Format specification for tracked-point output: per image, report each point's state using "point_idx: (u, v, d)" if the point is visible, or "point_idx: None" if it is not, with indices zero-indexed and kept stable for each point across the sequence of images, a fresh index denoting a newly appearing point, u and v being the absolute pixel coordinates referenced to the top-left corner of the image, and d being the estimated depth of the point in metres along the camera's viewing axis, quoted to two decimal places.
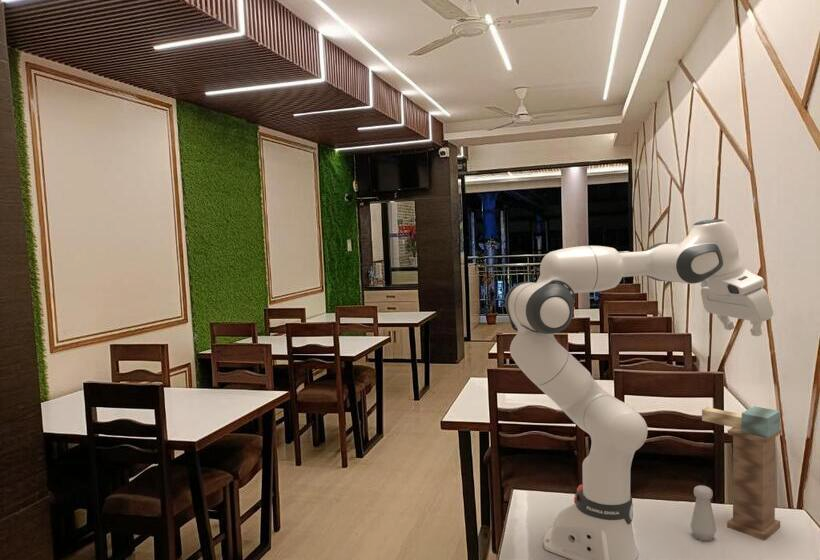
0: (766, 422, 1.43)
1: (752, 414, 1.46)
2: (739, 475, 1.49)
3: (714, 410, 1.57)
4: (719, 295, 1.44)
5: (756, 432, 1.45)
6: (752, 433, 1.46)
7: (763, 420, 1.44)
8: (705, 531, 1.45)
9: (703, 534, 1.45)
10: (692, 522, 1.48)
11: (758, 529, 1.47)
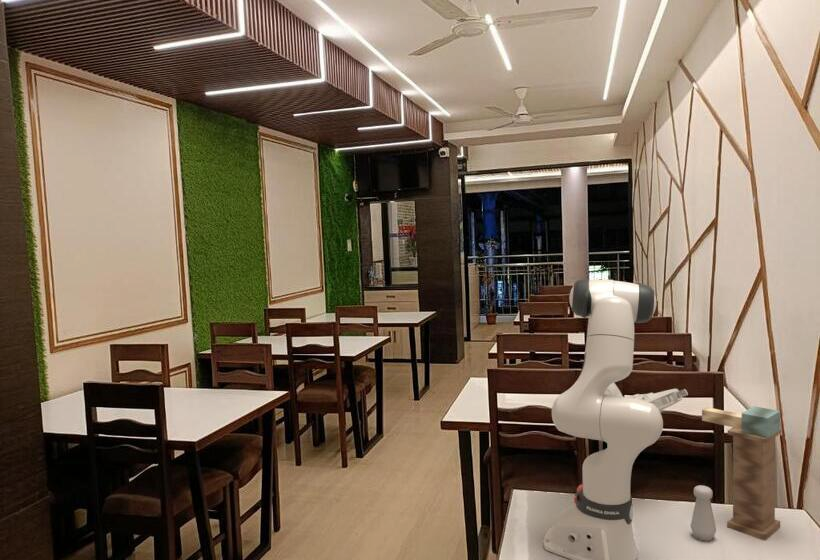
0: (766, 422, 1.43)
1: (752, 414, 1.46)
2: (739, 475, 1.49)
3: (714, 410, 1.57)
4: (640, 397, 1.74)
5: (756, 432, 1.45)
6: (752, 433, 1.46)
7: (763, 420, 1.44)
8: (705, 531, 1.45)
9: (703, 534, 1.45)
10: (692, 522, 1.48)
11: (758, 529, 1.47)
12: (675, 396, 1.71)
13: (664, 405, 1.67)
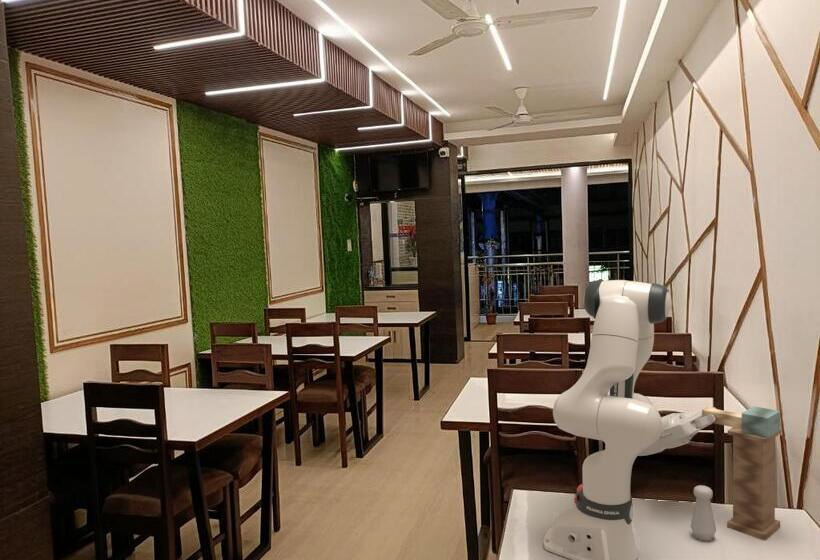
0: (766, 422, 1.43)
1: (752, 414, 1.46)
2: (739, 475, 1.49)
3: (714, 410, 1.57)
4: (677, 416, 1.65)
5: (756, 432, 1.45)
6: (752, 433, 1.46)
7: (763, 420, 1.44)
8: (705, 531, 1.45)
9: (703, 534, 1.45)
10: (692, 522, 1.48)
11: (758, 529, 1.47)
12: None
13: (704, 425, 1.59)
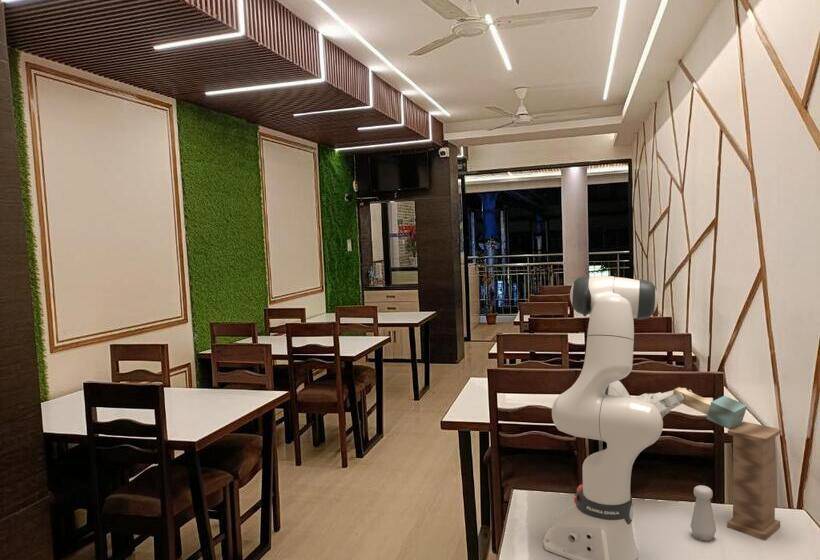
0: (732, 415, 1.50)
1: (721, 405, 1.52)
2: (739, 475, 1.49)
3: (685, 392, 1.63)
4: (649, 396, 1.71)
5: (720, 422, 1.52)
6: (716, 422, 1.53)
7: (729, 412, 1.50)
8: (705, 531, 1.45)
9: (703, 534, 1.45)
10: (692, 522, 1.48)
11: (758, 529, 1.47)
12: None
13: (674, 404, 1.65)
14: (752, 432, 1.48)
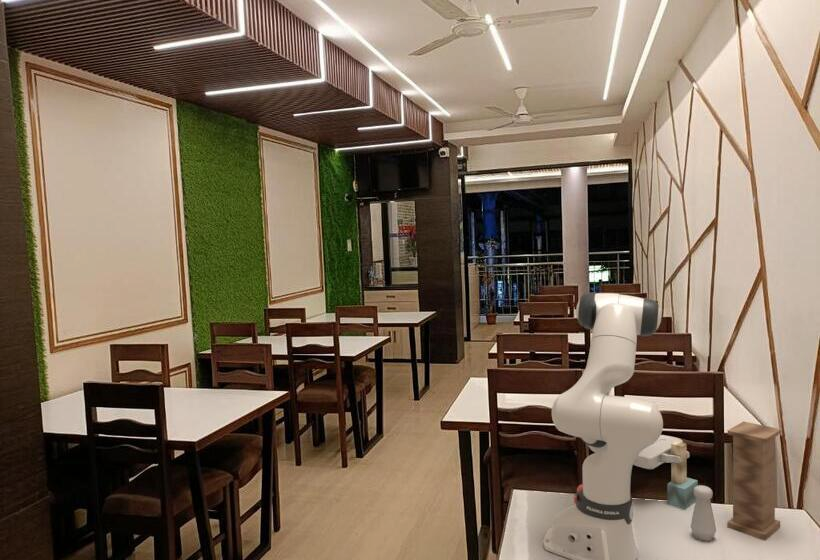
0: (681, 507, 1.63)
1: (686, 496, 1.62)
2: (739, 475, 1.49)
3: (683, 454, 1.65)
4: None
5: (670, 496, 1.65)
6: (668, 492, 1.65)
7: (682, 505, 1.63)
8: (705, 531, 1.45)
9: (703, 534, 1.45)
10: (692, 522, 1.48)
11: (758, 529, 1.47)
12: None
13: None
14: (752, 432, 1.48)
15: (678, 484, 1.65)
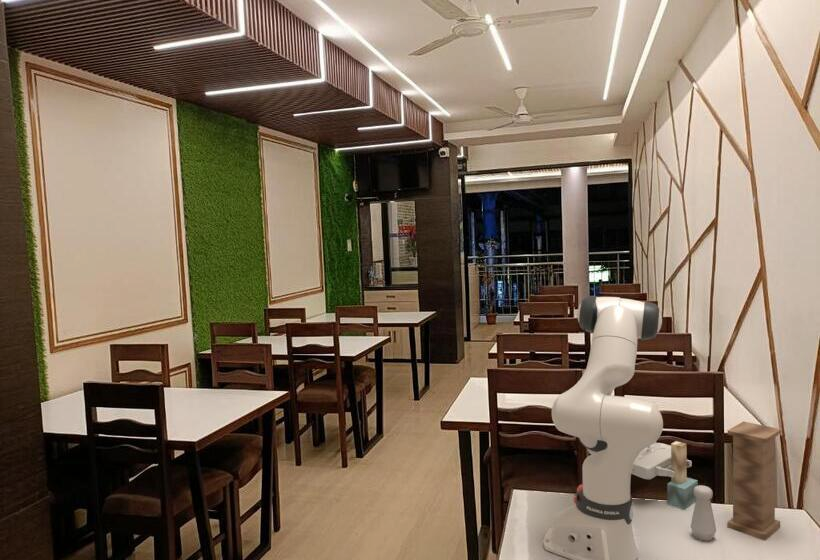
0: (681, 507, 1.63)
1: (686, 496, 1.62)
2: (739, 475, 1.49)
3: (683, 454, 1.65)
4: (645, 448, 1.74)
5: (670, 496, 1.65)
6: (668, 492, 1.65)
7: (682, 505, 1.63)
8: (705, 531, 1.45)
9: (703, 534, 1.45)
10: (692, 522, 1.48)
11: (758, 529, 1.47)
12: None
13: None
14: (752, 432, 1.48)
15: (678, 484, 1.65)
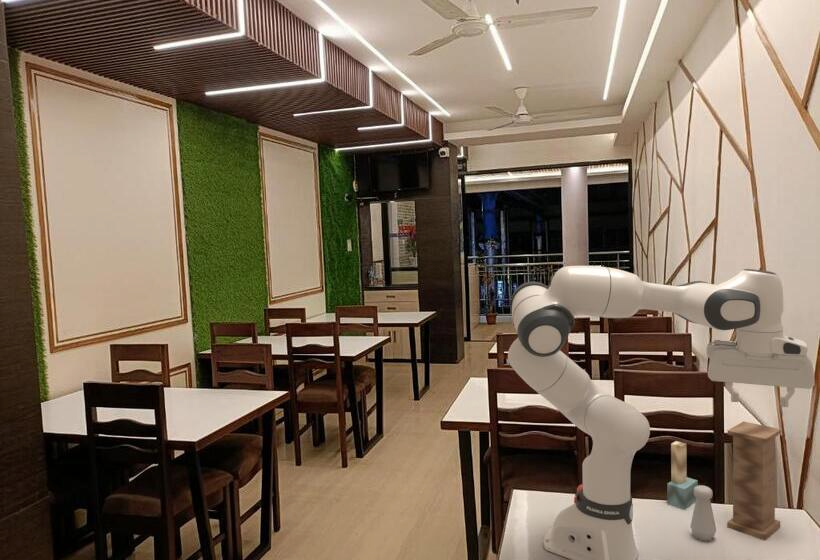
0: (681, 507, 1.63)
1: (686, 496, 1.62)
2: (739, 475, 1.49)
3: (683, 454, 1.65)
4: (759, 356, 1.26)
5: (670, 496, 1.65)
6: (668, 492, 1.66)
7: (682, 505, 1.63)
8: (705, 531, 1.45)
9: (703, 534, 1.45)
10: (692, 522, 1.48)
11: (758, 529, 1.47)
12: None
13: None
14: (752, 432, 1.48)
15: (678, 484, 1.65)
